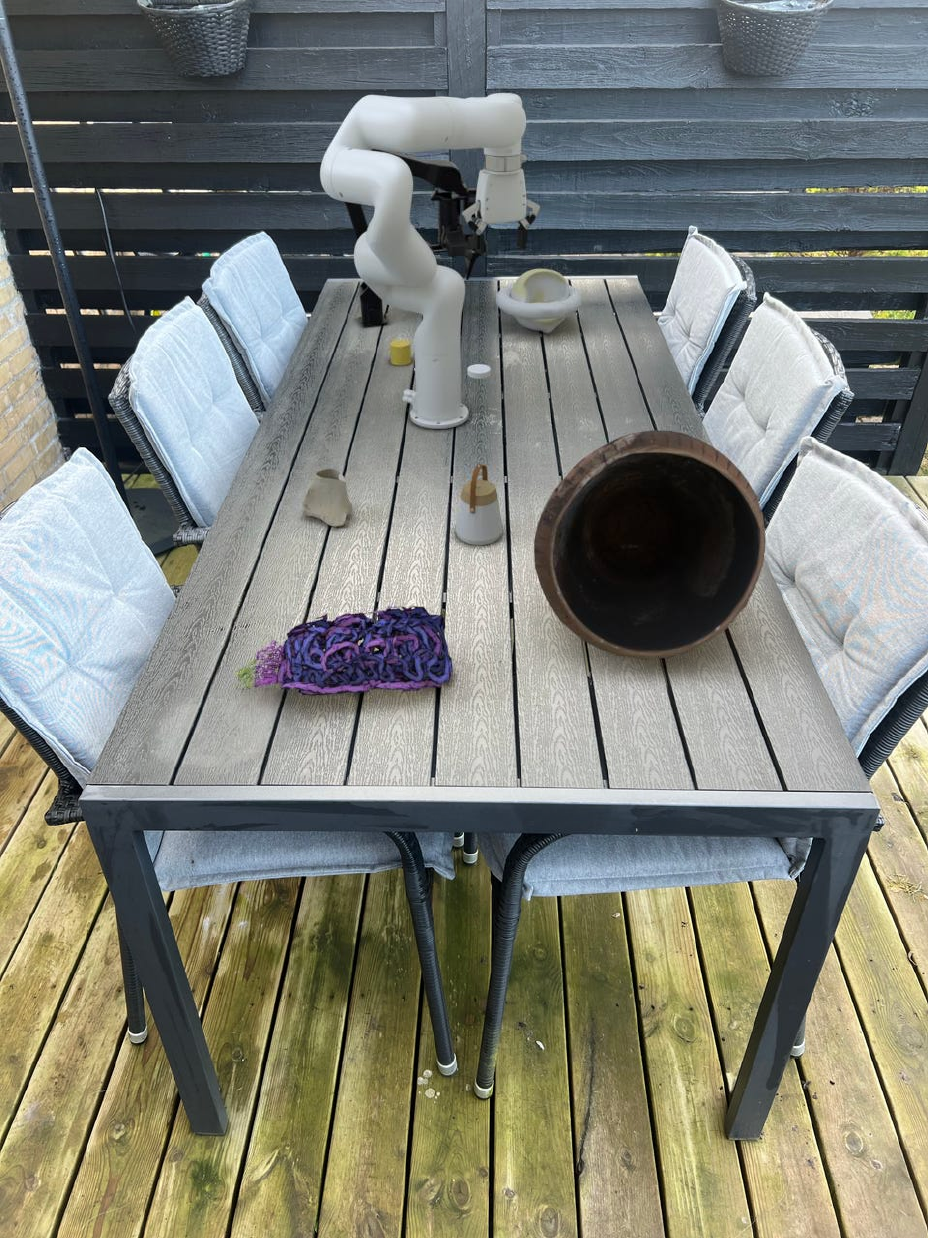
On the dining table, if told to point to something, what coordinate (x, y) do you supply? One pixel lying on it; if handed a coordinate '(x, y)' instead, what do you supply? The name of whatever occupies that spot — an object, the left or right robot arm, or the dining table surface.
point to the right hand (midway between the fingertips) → (500, 249)
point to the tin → (400, 352)
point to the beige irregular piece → (327, 498)
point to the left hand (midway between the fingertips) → (450, 281)
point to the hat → (539, 299)
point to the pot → (650, 545)
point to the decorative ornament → (358, 654)
